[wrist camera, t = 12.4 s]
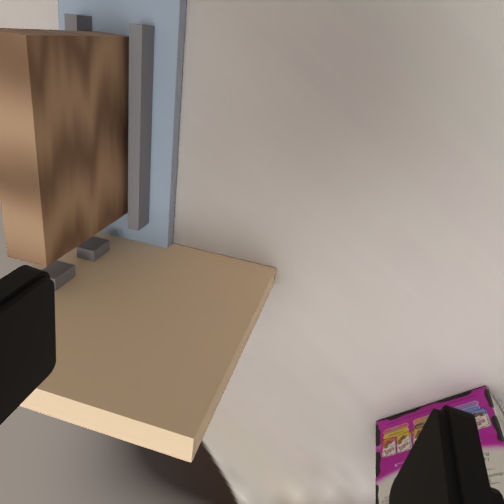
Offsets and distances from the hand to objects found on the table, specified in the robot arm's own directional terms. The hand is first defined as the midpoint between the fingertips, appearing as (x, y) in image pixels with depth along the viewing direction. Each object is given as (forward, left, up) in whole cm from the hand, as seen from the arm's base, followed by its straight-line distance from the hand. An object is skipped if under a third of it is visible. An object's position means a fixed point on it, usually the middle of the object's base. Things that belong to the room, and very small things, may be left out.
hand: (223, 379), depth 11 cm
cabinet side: (+2, -13, -28) cm, 31 cm away
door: (+2, -18, -27) cm, 32 cm away
